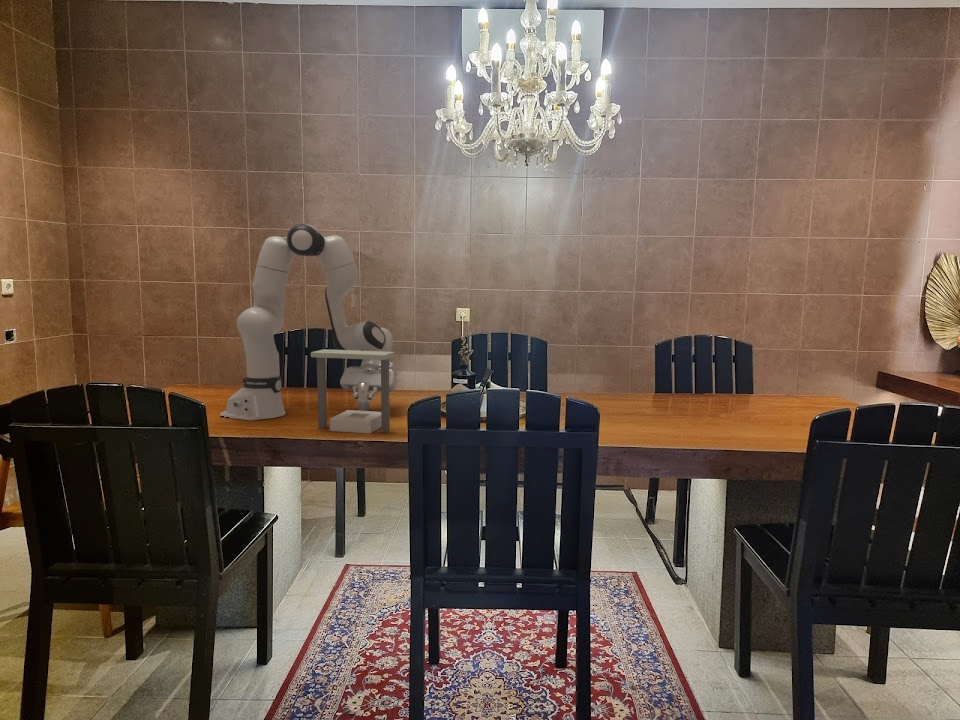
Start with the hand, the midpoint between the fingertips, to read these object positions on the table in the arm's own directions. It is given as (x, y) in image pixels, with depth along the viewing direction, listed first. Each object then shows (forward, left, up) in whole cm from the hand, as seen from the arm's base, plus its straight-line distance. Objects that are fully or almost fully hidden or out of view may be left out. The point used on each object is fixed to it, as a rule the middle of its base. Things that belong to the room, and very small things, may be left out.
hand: (362, 398), depth 226 cm
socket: (+4, -13, -7) cm, 16 cm away
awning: (+4, -17, -7) cm, 19 cm away
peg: (0, +1, -6) cm, 6 cm away
